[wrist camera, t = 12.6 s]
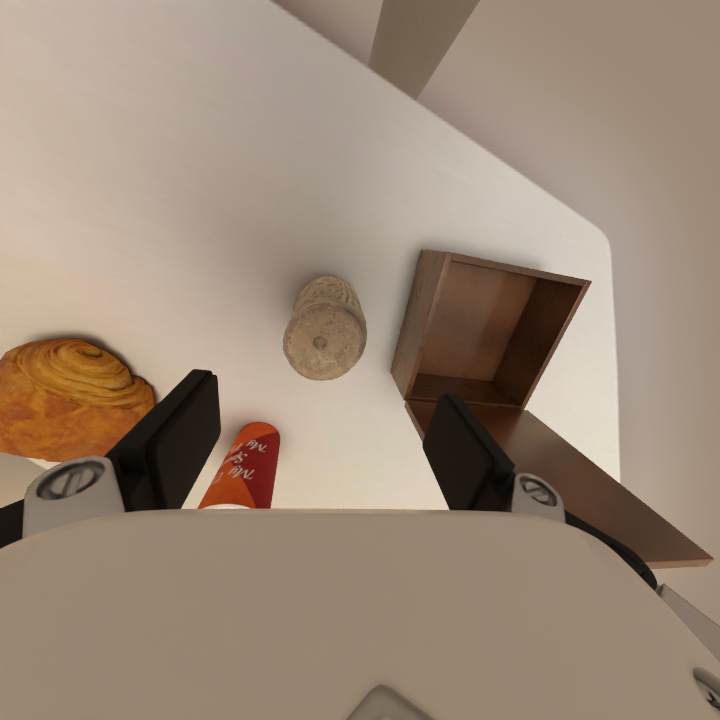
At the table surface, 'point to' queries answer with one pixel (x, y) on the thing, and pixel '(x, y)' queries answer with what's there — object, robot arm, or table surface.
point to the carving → (325, 330)
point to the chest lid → (579, 485)
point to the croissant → (67, 400)
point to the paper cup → (246, 471)
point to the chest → (481, 329)
